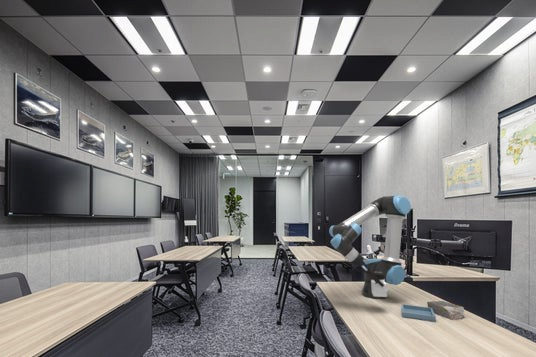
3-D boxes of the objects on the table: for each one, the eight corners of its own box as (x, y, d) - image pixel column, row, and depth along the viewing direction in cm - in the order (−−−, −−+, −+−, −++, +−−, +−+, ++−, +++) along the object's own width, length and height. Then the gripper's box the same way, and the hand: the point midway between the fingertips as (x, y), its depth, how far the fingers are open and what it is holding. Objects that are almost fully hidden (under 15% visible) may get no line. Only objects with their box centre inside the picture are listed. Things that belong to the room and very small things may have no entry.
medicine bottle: (387, 297, 152) (386, 274, 154) (373, 296, 154) (372, 273, 155) (385, 293, 159) (383, 271, 161) (371, 292, 161) (370, 270, 162)
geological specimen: (441, 299, 160) (466, 306, 146) (441, 311, 159) (468, 319, 145) (426, 300, 157) (451, 308, 143) (427, 312, 156) (452, 321, 142)
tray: (401, 308, 159) (401, 303, 159) (432, 312, 153) (432, 307, 153) (402, 317, 145) (401, 312, 146) (435, 322, 139) (435, 316, 140)
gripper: (347, 259, 171) (376, 288, 166) (351, 265, 151) (385, 298, 146) (356, 250, 170) (386, 279, 166) (361, 255, 151) (395, 288, 146)
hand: (385, 288), depth 156 cm, fingers closed on medicine bottle, 7 cm apart
